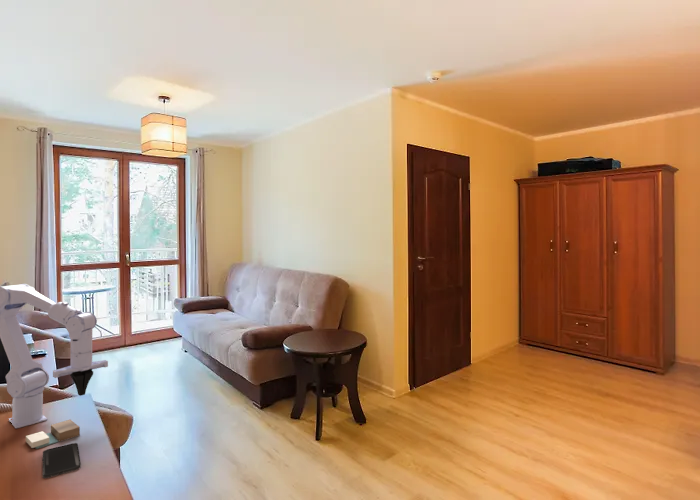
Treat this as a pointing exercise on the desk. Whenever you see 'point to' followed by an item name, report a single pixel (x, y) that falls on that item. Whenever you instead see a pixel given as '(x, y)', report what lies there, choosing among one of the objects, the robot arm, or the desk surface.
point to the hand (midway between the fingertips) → (81, 394)
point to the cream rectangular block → (37, 439)
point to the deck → (65, 430)
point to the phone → (61, 460)
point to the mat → (51, 441)
